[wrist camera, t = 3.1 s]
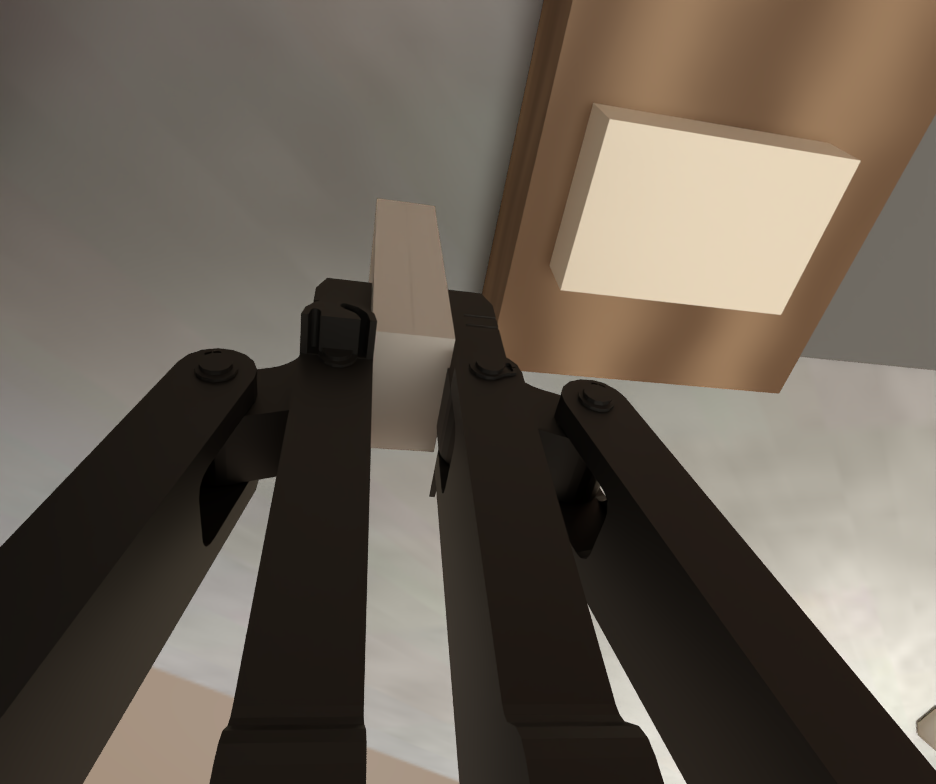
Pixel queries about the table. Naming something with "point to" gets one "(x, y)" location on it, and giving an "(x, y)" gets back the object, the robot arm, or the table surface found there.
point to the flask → (928, 729)
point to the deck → (714, 101)
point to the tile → (695, 211)
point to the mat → (890, 280)
